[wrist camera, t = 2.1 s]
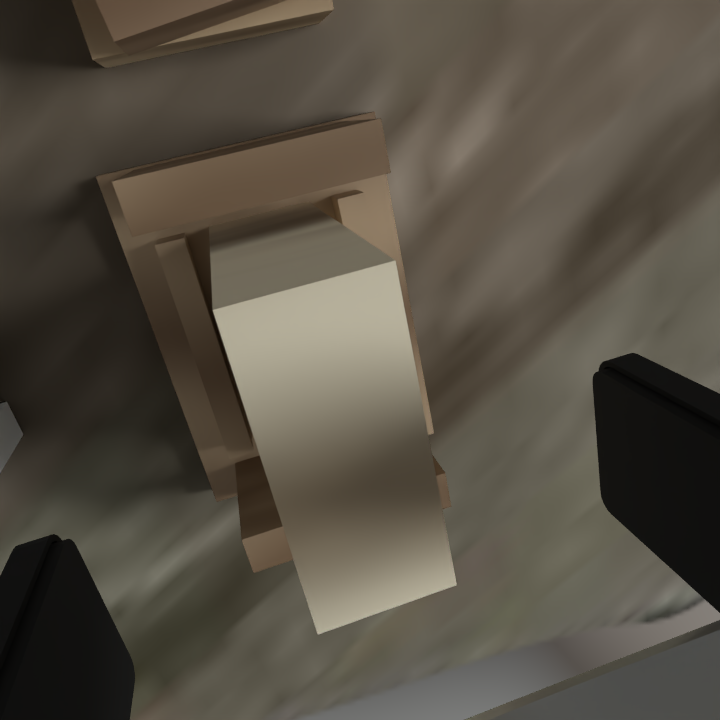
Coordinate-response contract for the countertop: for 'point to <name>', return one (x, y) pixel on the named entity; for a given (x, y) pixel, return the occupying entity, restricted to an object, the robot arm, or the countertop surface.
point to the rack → (194, 290)
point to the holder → (8, 433)
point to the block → (333, 408)
